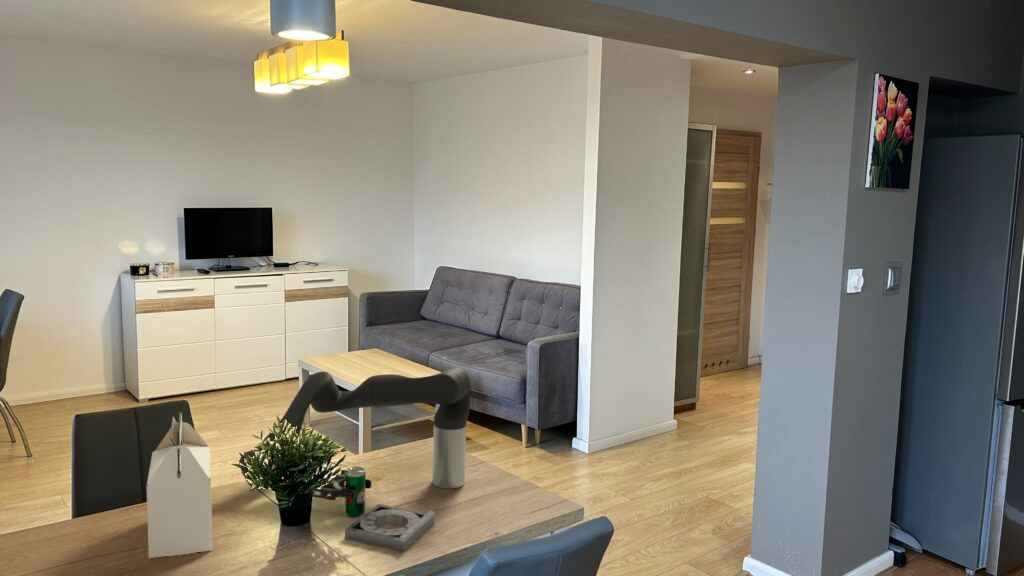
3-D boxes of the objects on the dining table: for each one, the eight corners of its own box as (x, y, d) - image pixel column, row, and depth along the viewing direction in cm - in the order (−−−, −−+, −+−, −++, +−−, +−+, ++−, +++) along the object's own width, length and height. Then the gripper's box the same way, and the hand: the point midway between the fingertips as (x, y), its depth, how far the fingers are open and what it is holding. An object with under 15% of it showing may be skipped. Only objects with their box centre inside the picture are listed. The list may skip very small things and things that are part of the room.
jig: (378, 513, 203) (378, 500, 203) (434, 524, 198) (434, 511, 197) (344, 538, 188) (344, 525, 188) (404, 552, 183) (404, 537, 182)
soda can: (360, 519, 199) (361, 474, 197) (342, 516, 200) (342, 471, 198) (368, 511, 204) (368, 467, 202) (349, 509, 205) (350, 464, 203)
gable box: (154, 518, 195) (151, 409, 191) (211, 512, 200) (209, 406, 196) (148, 560, 175) (145, 439, 171) (212, 552, 179) (210, 434, 175)
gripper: (291, 474, 199) (348, 485, 193) (323, 456, 212) (377, 466, 206) (291, 502, 200) (348, 514, 194) (323, 482, 213) (377, 493, 207)
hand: (363, 489), depth 200 cm, fingers open, 7 cm apart
